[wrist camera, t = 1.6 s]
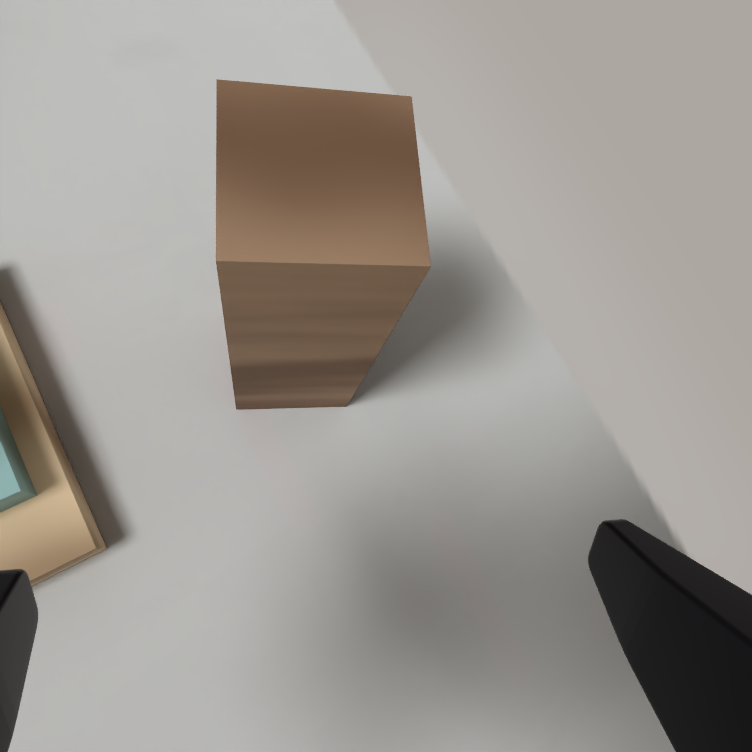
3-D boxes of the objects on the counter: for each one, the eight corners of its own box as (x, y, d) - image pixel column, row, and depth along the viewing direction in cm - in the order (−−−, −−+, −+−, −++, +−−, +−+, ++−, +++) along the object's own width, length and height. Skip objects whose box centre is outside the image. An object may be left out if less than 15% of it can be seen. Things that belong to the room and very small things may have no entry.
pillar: (346, 406, 24) (430, 266, 13) (236, 409, 23) (215, 260, 12) (340, 307, 26) (411, 96, 14) (235, 306, 25) (216, 79, 13)
